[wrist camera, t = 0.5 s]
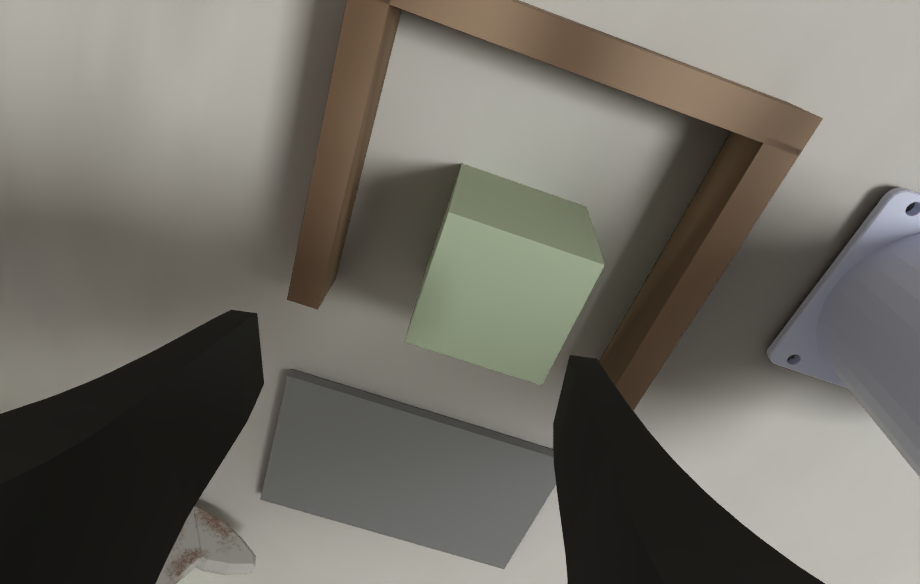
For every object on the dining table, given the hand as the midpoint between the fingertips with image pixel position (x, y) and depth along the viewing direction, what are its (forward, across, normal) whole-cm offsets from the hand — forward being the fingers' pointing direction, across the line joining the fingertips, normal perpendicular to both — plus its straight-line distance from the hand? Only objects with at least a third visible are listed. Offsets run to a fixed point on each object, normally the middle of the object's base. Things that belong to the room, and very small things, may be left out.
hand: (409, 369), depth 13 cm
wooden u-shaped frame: (+10, -2, -1) cm, 11 cm away
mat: (+10, +1, +15) cm, 18 cm away
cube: (+10, -2, +1) cm, 11 cm away
